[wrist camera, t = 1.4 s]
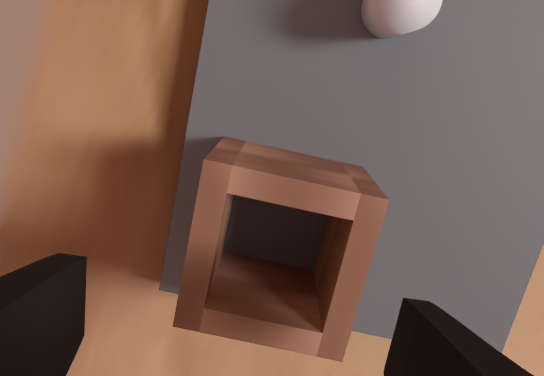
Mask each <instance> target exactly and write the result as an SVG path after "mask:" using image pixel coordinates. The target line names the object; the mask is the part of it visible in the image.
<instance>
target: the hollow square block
mask: <svg viewBox="0 0 544 376" xmlns="http://www.w3.org/2000/svg"><path fill="white" fill-rule="evenodd" d="M235 195H238V196H242V197H247V198H251V199H256V200H261V201H265V202H270V203H274V204H279V205H284V206H288V207H293V208H297V209H302V210H307V211H311V212H316V213H320V214H325V215H328V218H327V222H326V226H325V229H324V233H323V237H322V241H321V245H320V249H319V252H318V256H317V260H316V264H315V268H314V270H310V269H305V268H300V267H296V266H291V265H286V264H282V263H277V262H272V261H268V260H263V259H258V258H254V257H249V256H244V255H239V254H235V253H230V252H225V251H224V246H225V241H226V236H227V231H228V226H229V221H230V217H231V212H232V207H233V202H234V197H235ZM388 203H389V199H388V197H387V196H386V195H385V194H384V192H383V191H382V190H381V189H380V187H379V186H378V185H377V184H376V182H375V181H374V180H373V179H372V177H371V176H370V175H369V174H368V172H367V171H366V170H365V169H364V167H362V166H357V165H353V164H348V163H344V162H339V161H334V160H330V159H325V158H321V157H316V156H312V155H307V154H303V153H298V152H294V151H289V150H285V149H280V148H275V147H271V146H266V145H262V144H257V143H253V142H248V141H244V140H239V139H235V138H230V137H226V136H224V137H223V139H222V140H221V141H220V142H219V143H218V144H217V145H216V146H215V147H214V148H213V149H212V151H211V152H210V153H209V154H208V155H207V156H206V157H205V158H204V160H203V165H202V171H201V176H200V181H199V187H198V192H197V198H196V203H195V209H194V214H193V219H192V225H191V230H190V236H189V241H188V247H187V252H186V257H185V263H184V268H183V274H182V279H181V285H180V290H179V295H178V301H177V306H176V312H175V317H174V323H173V327H178V328H183V329H188V330H192V331H197V332H202V333H207V334H212V335H216V336H221V337H226V338H231V339H235V340H240V341H245V342H250V343H255V344H259V345H264V346H269V347H274V348H278V349H283V350H288V351H293V352H298V353H302V354H307V355H312V356H317V357H321V358H326V359H331V360H336V361H341V362H342V361H343V357H344V354H345V350H346V347H347V344H348V340H349V337H350V333H351V330H352V326H353V323H354V320H355V316H356V313H357V309H358V306H359V302H360V299H361V296H362V292H363V289H364V285H365V282H366V278H367V275H368V271H369V268H370V265H371V261H372V258H373V254H374V251H375V247H376V244H377V241H378V237H379V234H380V230H381V227H382V223H383V220H384V217H385V213H386V210H387V206H388Z"/></svg>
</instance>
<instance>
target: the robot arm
mask: <svg viewBox="0 0 544 376" xmlns="http://www.w3.org/2000/svg"><path fill="white" fill-rule="evenodd" d="M86 263H87V257H84V256H76V255H68V254H60V253H58V254H55V255H52V256H49V257H46V258H44V259H41V260H39V261H36V262H34V263H32V264H29V265H27V266H25V267H22V268H20V269H18V270H15V271H13V272H11V273H8V274H6V275H4V276H1V277H0V376H66V374H67V372H68V370H69V368H70V366H71V364H72V362H73V360H74V357H75V355H76V353H77V351H78V348H79V346H80V344H81V342H82V339H83V337H84V326H85V295H86ZM384 376H533V375H532V374H530V373H529V372H527V371H526V370H524V369H523V368H521V367H520V366H519V365H517V364H516V363H514V362H513V361H512V360H510V359H509V358H507V357H506V356H505V355H503V354H502V353H500V352H499V351H498V350H496V349H495V348H494V347H492V346H491V345H490V344H488V343H487V342H486V341H484V340H483V339H482V338H480V337H479V336H478V335H476V334H475V333H474V332H472V331H471V330H470V329H468V328H467V327H466V326H464V325H463V324H462V323H460V322H459V321H458V320H456V319H455V318H454V317H452V316H451V315H450V314H448V313H447V312H445V311H444V310H443V309H441V308H440V307H438V306H437V305H435V304H433V303H432V302H430V301H425V300H417V299H409V298H403V300H402V304H401V307H400V311H399V315H398V319H397V323H396V326H395V330H394V334H393V338H392V341H391V345H390V349H389V353H388V357H387V360H386V364H385V368H384Z"/></svg>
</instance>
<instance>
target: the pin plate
mask: <svg viewBox="0 0 544 376" xmlns="http://www.w3.org/2000/svg"><path fill="white" fill-rule="evenodd" d="M224 136H226V137H230V138H235V139H239V140H244V141H248V142H253V143H257V144H262V145H266V146H271V147H275V148H280V149H285V150H289V151H294V152H298V153H303V154H307V155H312V156H316V157H321V158H325V159H330V160H334V161H339V162H344V163H348V164H353V165H357V166H362V167H364V169H365V170H366V171H367V172H368V174H369V175H370V176H371V177H372V179H373V180H374V181H375V182H376V184H377V185H378V186H379V187H380V189H381V190H382V191H383V192H384V194H385V195H386V196H387V197H388V199H389V203H388V206H387V210H386V213H385V217H384V220H383V223H382V227H381V230H380V234H379V237H378V241H377V244H376V247H375V251H374V254H373V258H372V261H371V265H370V268H369V271H368V275H367V278H366V282H365V285H364V289H363V292H362V296H361V299H360V302H359V306H358V309H357V313H356V316H355V320H354V323H353V326H352V330H351V331H356V332H361V333H365V334H370V335H375V336H380V337H384V338H389V339H392V338H393V334H394V330H395V326H396V323H397V319H398V315H399V311H400V307H401V304H402V300H403V298H409V299H417V300H425V301H430V302H432V303H433V304H435V305H437V306H438V307H440V308H441V309H443V310H444V311H445V312H447V313H448V314H450V315H451V316H452V317H454V318H455V319H456V320H458V321H459V322H460V323H462V324H463V325H464V326H466V327H467V328H468V329H470V330H471V331H472V332H474V333H475V334H476V335H478V336H479V337H480V338H482V339H483V340H484V341H486V342H487V343H488V344H490V345H491V346H492V347H494V348H495V349H496V350H498V351H499V352H500V353H501V352H502V350H503V347H504V345H505V342H506V340H507V337H508V334H509V332H510V329H511V327H512V324H513V321H514V319H515V316H516V314H517V311H518V309H519V306H520V303H521V301H522V298H523V296H524V293H525V290H526V288H527V285H528V283H529V280H530V277H531V275H532V272H533V270H534V267H535V265H536V262H537V259H538V257H539V254H540V252H541V249H542V246H543V244H544V0H209V2H208V8H207V14H206V20H205V25H204V31H203V37H202V43H201V49H200V54H199V60H198V66H197V72H196V78H195V84H194V89H193V95H192V101H191V107H190V113H189V118H188V124H187V130H186V136H185V142H184V147H183V153H182V159H181V165H180V171H179V177H178V182H177V188H176V194H175V200H174V206H173V211H172V217H171V223H170V229H169V235H168V240H167V246H166V252H165V258H164V264H163V270H162V275H161V281H160V287H159V290H162V291H167V292H171V293H176V294H179V290H180V285H181V279H182V274H183V268H184V263H185V257H186V252H187V247H188V241H189V236H190V230H191V225H192V219H193V214H194V209H195V203H196V198H197V192H198V187H199V181H200V176H201V171H202V165H203V160H204V158H205V157H206V156H207V155H208V154H209V153H210V152H211V151H212V149H213V148H214V147H215V146H216V145H217V144H218V143H219V142H220V141H221V140H222V139H223V137H224ZM327 218H328V215H325V214H320V213H316V212H311V211H307V210H302V209H297V208H293V207H288V206H284V205H279V204H274V203H270V202H265V201H261V200H256V199H251V198H247V197H242V196H238V195H235V197H234V202H233V207H232V212H231V217H230V221H229V226H228V231H227V236H226V241H225V246H224V251H225V252H230V253H235V254H239V255H244V256H249V257H254V258H258V259H263V260H268V261H272V262H277V263H282V264H286V265H291V266H296V267H300V268H305V269H310V270H314V268H315V264H316V260H317V256H318V252H319V249H320V245H321V241H322V237H323V233H324V229H325V226H326V222H327Z"/></svg>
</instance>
